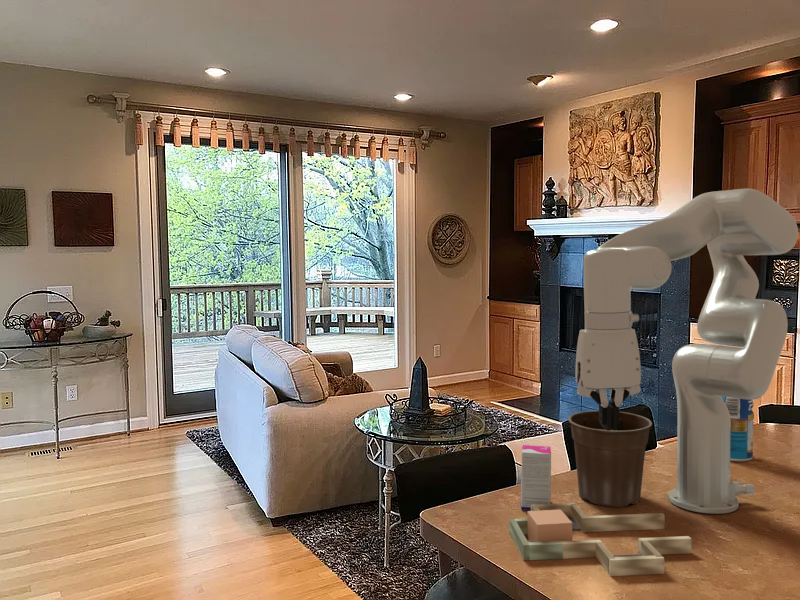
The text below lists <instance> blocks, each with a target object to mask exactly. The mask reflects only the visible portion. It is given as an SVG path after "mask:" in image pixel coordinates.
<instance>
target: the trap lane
mask: <svg viewBox="0 0 800 600" xmlns="http://www.w3.org/2000/svg"><path fill="white" fill-rule="evenodd" d="M560 509H561V510H562V512H563V513H564V514H565V515H566V516H567V517H568V519H569V520H570V521H571V522H572V531H581V532H582V533H593V532H594V533H595V532H597V533H598V532H615V531H617V532H618V531H619V532H620V531H644V530H665V528H666V527H665V524H666V523H665V514H664V513H662V512H661V513H660V512H657V513H655V512H654V513H633V514H610V515H609V514H605V515H602V514H601V515H586V514H585V513H584V512H583V510H582V509H581V508H580V507H579V506H578V504H576V502H566V503H565V502H562V503H551V504H534V505H531V510H530V511H541V510H560ZM508 520H509V524H508V525H509V526H508V527H509V529H508V530H509V535H510V537H511V538H512V540H513V542H514V544H515V547H516V548H517V550H518V551H519V555H520V556H521V558H522V560H523V561H535V560H536V561H539V560H561V559H562V560H563V559H567V560H568V559H582V558H583V559H584V558H585V559H586V558H587V559H588V558H596V559H597V560H598V562H599V563H600V565H601V566H602V567H603V569H605V571H606V572H607V574H608V575H609V576H610V577H620V576H621V577H622V576H643V575H645V576H647V575H664V574H665V557H664V556H663V555H681V554H682V555H683V554H692V538H691V537H690V536H689V535H682V536H661V537H660V536H658V537H655V536H654V537H638V539H637V541H638V542H637V543H638V546H637V548H638V549H637V550H638V551H637V552H638V553H636V554H615V555H614V554H613V553H612V552H611V551H610V550H609V549H608V548H607V546H606V545H605V544H604V543H603V542H602V541H601V540H600V539H584V540H583V539H582V540H572V541H554V542H530V541H528V539H527V538H526V536H525V535H528V525H527V517H525V518H524V517H523V518H509V519H508Z"/></svg>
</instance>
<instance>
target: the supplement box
mask: <svg viewBox="0 0 800 600" xmlns="http://www.w3.org/2000/svg"><path fill="white" fill-rule="evenodd" d="M520 479H521V481H520V483H521V485H520V510H521V509H523V510H522V511H531V505H534V504H552V502H551V498H552V497H551V496H552V493H551V492H552V490H551V489H552V449H551V446H547V445H546V446H545V445H529V444H528V445H527V444H523V445H522V446H521V478H520Z"/></svg>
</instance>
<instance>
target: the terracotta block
mask: <svg viewBox="0 0 800 600" xmlns="http://www.w3.org/2000/svg"><path fill="white" fill-rule="evenodd" d="M526 512H527V514H526V515H527V517H526V518H527V525H528V534H527V541H528V542H554V541H573V530H572V522H571V521H570V520H569V519H568V517H567V516H566V515H565V514H564V513H563V512H562V510H561V509H560V510H541V511H531V510H526Z"/></svg>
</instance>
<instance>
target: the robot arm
mask: <svg viewBox="0 0 800 600" xmlns="http://www.w3.org/2000/svg"><path fill="white" fill-rule="evenodd" d="M798 235H799V228H798V225H797V221H796V219H795V218H794V216H793V215H792V214H791V213H790V211H788V210H787V209H785V207H783V206H782V205H781V204H780V203H778V202H776V201H775V200H774V199H773V198H772V197H770V196H768V195H767V194H766V193H764V192H762V191H760V190H757V189H754V188H748V187H747V188H737V189H726V190H717V191H715V190H714V191H710V192H709V191H708V192H704V193H701V194H699V195H697V196H695V197H694V198H693V199H691V200H689V201H687V203H685V204H684V205H682V206H681V207H679V208H678V209H676V210H675V211H673V212H671V213H670V214H668V215H667V216H665V217H663V218H659V219H657V220H653V221H652V222H649V223H646V224H643V225H640V226H638V227H635V228H631V229H630V230H626V231H624V232H623V233H619V234H618V235H615V236H614V237H612V238H611V239H609V240H607V241H605V242H604V243H602V244H601V245H600V246H599V247H597V248H596V249H591V250H588V251H587V252H586V253H585V254H584V256H583V301H584V312H583V313H584V329H580V330H579V332H578V333H579V334H578V337H577V344H576V353H575V375H574V376H575V381H576V382H575V383H577V384H578V385H577V389H576V394H578V395H579V396H581V397H586V398H591V399H593V401H595V403H596V404H598V411H599V422H600V424H601V425H602V427H603V428H605V429H606V430H607V431H610V430H617V424H619V412H620V407H622V405H623V402H625V400H626V399H627V398H628V397H629V396H633V395H637V394H640V392H641V391H642V388H641V381H642V368H641V357H640V348H639V342H638V337H637V334H636V329H634V328H632V327H633V323H635V322H636V323H637V322H639V320H640V316H639V314H638V313H634V312H633V311H632V310H631V309H632V306H631V305H632V302H631V301H632V297H631V296H632V295H631V294H632V293H631V290H643V291H646V290H654V289H657V288H660V287H662V286H663V285H664V284H665V283H666V282H667V281H668V280H669V278H670V275H671V274H672V269H673V268H672V262H674V261H677V260H681V259H685V258H689V257H690V256H693V255H695V254H696V253H697V252H698V251H700V250H701V249H702V248H704V247H705V246H707V247H706V248H707V250H708V252H709V253H708V254H709V258H710V260H711V265H712V268H713V279H712V283H711V286H710V288H709V290H708V293H707V296H706V298H705V300H704V303H703V306H702V308H701V311H700V314H699V316H698V320H697V324H696V327H697V329H696V330H697V333H698V336H699V337H700V338H701V339H702V340H704V341H706V342H707V343H691V344H686V345H684V346H681V347H680V348H679V349H678V350H677V351H676V352H675V354H673V355H674V356H673V357H672V363H671V368H672V369H671V371H672V377H673V382H674V387H675V393H676V403H677V407H676V408H677V423H676V424H677V428H676V429H677V431H676V433H677V439H676V440H677V441H676V443H677V445H676V446H677V447H676V451H677V456H676V457H677V458H676V460H677V461H676V462H677V463H676V464H677V465H676V466H677V467H676V470H677V471H676V474H677V475H676V479H677V480H676V481H677V482H676V487H674V488H672V489H671V490H670V491H669V492H668V499H669V501H670V502H671V503H672V504H673V505H674V506H677V507H679V508H680V509H681V508H682V509H685V510H687V511H691V512H696V513H700V514H701V513H702V514H711V515H714V514H715V515H717V514H719V515H720V514H722V515H723V514H729V513H732V512H735V511H736V510H738V509H739V507H740V506H739V503H740V501H739V499H738V497H739V496H740V495H755V493H756V488H755V485H754V484H753V483H746V484H745V483H743V484H742V483H741V482H740V481H739V480H738V481H732V480H731V461H730V427H731V420H730V414H729V411H728V408H727V406H726V404H725V402H724V401H723V399H722V397H721V396H726V397H732V398H738V399H746V400H753V401H754V400H758V399H760V398H762V397H763V396H764V395H765V394H766V393H767V391H768V389H769V387H770V385H771V383H772V380H773V376H774V375H775V371H776V368H777V367H778V366H777V365H778V362H779V359H780V356H781V354H782V351H783V349H784V348H783V347H784V345H785V342H786V337H787V334H788V326H789V325H788V316H787V313H786V311H785V309H784V307H783V306H782V305H781V304H780V303H778V302H776V301H774V300H772V299H771V300H770V299H762V298H756V297H757V294H758V291H759V287H760V283H759V281H760V280H759V278H758V276H757V274H756V272H755V271H754V269H753V268H752V266H750V263H749V264H748V261H747V260H746V257H744V256H777V255H783V254H786V253H788V252H790V251H791V250H792V249H793V248H794V246H795V245H796V243H797V241H798V238H799V236H798ZM709 343H711V344H709ZM607 390H610V392H609V397H608V395H607V394H608V393H607ZM608 398H609V399H608ZM608 400H609V401H608Z"/></svg>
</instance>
